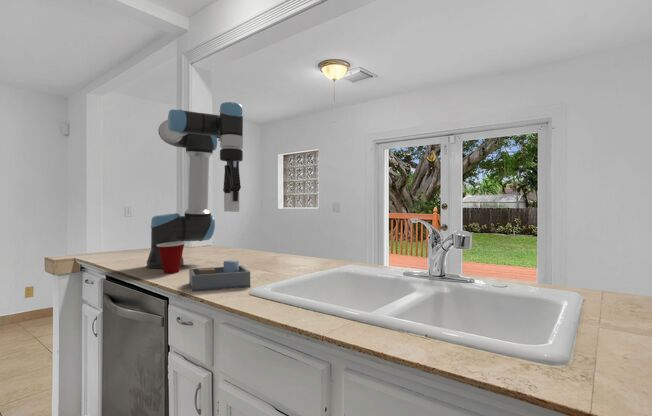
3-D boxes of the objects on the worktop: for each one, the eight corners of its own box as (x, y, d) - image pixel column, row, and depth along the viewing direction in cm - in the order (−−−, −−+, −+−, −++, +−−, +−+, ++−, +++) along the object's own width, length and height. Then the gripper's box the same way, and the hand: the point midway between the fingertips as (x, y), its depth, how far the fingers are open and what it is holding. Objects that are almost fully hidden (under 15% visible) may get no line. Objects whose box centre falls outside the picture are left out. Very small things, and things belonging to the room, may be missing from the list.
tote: (189, 283, 125) (189, 268, 125) (242, 279, 133) (242, 265, 133) (192, 291, 113) (192, 275, 113) (250, 286, 120) (250, 271, 120)
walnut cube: (197, 283, 122) (197, 268, 122) (213, 281, 124) (213, 267, 124) (199, 285, 118) (199, 270, 118) (215, 284, 120) (215, 269, 120)
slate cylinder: (222, 281, 126) (222, 260, 126) (237, 279, 128) (237, 259, 128) (224, 283, 121) (224, 262, 121) (239, 282, 123) (239, 261, 123)
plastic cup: (151, 272, 147) (151, 242, 147) (177, 269, 155) (177, 240, 155) (163, 275, 139) (163, 244, 139) (190, 272, 148) (190, 242, 148)
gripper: (215, 153, 134) (215, 211, 134) (225, 142, 111) (225, 211, 111) (236, 154, 137) (236, 211, 137) (250, 144, 114) (250, 211, 114)
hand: (231, 211), depth 124 cm, fingers open, 13 cm apart
